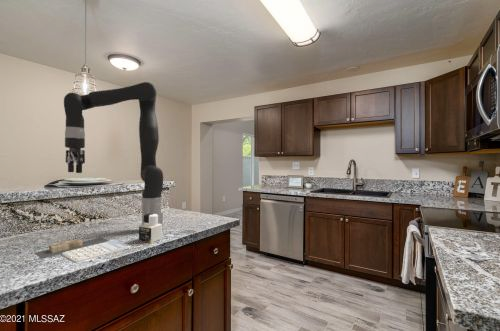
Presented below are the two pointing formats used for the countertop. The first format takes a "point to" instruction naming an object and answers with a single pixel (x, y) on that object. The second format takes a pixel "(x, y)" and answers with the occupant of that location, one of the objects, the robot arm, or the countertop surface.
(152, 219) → the medicine bottle
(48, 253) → the mat
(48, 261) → the countertop surface
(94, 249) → the calculator
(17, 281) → the countertop surface
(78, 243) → the domino
